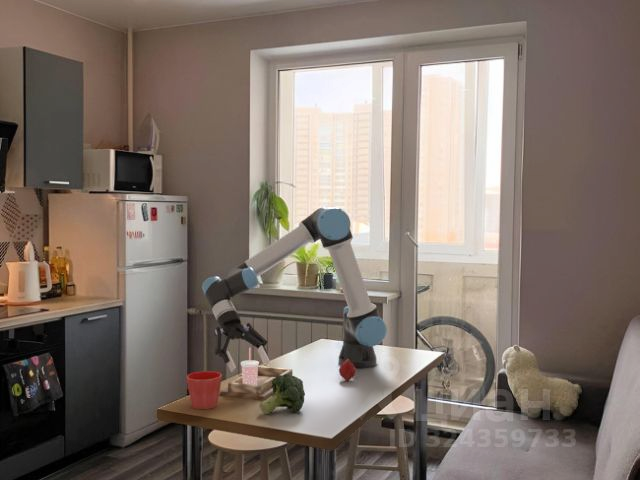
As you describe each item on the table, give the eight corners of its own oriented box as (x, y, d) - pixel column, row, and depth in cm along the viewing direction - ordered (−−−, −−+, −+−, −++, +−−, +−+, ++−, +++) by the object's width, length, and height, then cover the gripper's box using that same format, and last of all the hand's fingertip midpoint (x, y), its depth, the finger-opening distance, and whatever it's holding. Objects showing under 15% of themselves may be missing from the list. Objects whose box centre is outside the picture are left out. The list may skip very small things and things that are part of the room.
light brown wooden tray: (294, 379, 238) (294, 369, 238) (264, 400, 214) (264, 388, 214) (254, 375, 244) (254, 365, 244) (220, 394, 219) (220, 383, 219)
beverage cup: (242, 386, 226) (242, 345, 225) (260, 386, 225) (260, 345, 225) (239, 391, 220) (239, 349, 219) (257, 391, 219) (257, 349, 219)
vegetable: (250, 400, 207) (289, 374, 213) (273, 433, 202) (312, 406, 208) (251, 386, 197) (292, 359, 203) (276, 421, 192) (317, 393, 198)
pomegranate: (335, 380, 238) (336, 358, 237) (346, 377, 242) (346, 356, 242) (348, 384, 234) (348, 361, 233) (358, 380, 238) (358, 358, 238)
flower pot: (183, 402, 211) (183, 372, 210) (217, 399, 215) (217, 369, 214) (190, 412, 201) (190, 381, 200) (225, 408, 205) (225, 377, 205)
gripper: (251, 318, 242) (276, 367, 232) (191, 326, 226) (214, 379, 216) (260, 305, 238) (285, 354, 228) (199, 313, 222) (223, 366, 211)
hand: (250, 366), depth 222 cm, fingers open, 13 cm apart
